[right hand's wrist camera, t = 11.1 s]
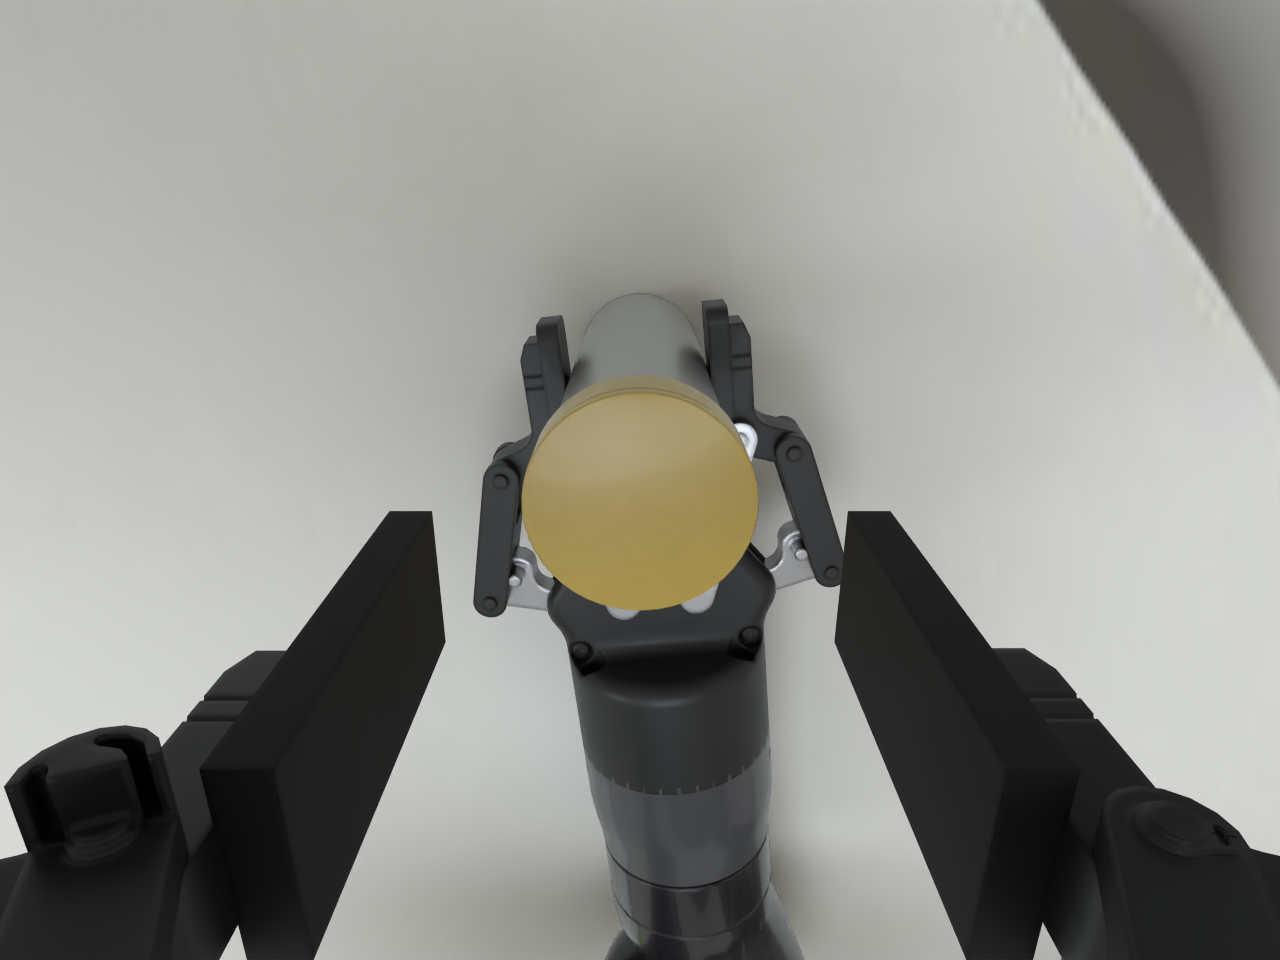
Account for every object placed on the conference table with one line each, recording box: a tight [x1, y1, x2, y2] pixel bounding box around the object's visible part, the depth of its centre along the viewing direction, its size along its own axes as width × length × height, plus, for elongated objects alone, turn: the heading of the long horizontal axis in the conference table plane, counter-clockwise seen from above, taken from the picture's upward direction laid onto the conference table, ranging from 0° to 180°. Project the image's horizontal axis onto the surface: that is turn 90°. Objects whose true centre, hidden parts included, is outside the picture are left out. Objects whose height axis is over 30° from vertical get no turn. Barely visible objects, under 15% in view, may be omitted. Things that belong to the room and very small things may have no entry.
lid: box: [522, 375, 759, 610], centre depth 18 cm, size 5×5×2 cm
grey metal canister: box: [560, 294, 719, 407], centre depth 25 cm, size 5×5×16 cm
